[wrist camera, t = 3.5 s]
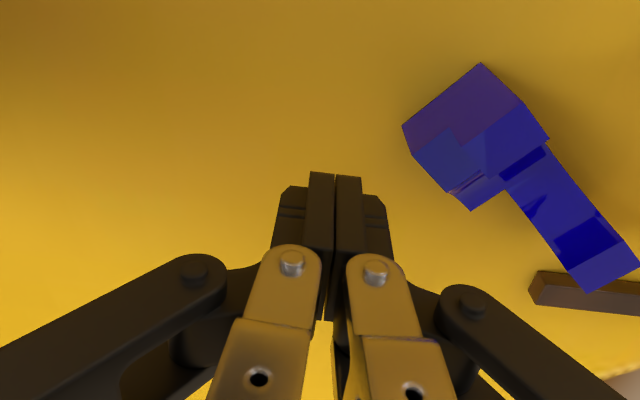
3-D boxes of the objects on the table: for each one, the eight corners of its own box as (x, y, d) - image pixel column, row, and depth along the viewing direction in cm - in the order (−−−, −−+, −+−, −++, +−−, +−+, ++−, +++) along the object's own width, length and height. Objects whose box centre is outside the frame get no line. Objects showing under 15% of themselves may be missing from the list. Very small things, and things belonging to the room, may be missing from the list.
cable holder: (401, 125, 17) (419, 177, 13) (480, 61, 15) (522, 102, 12) (511, 246, 20) (548, 314, 16) (585, 202, 18) (642, 265, 15)
